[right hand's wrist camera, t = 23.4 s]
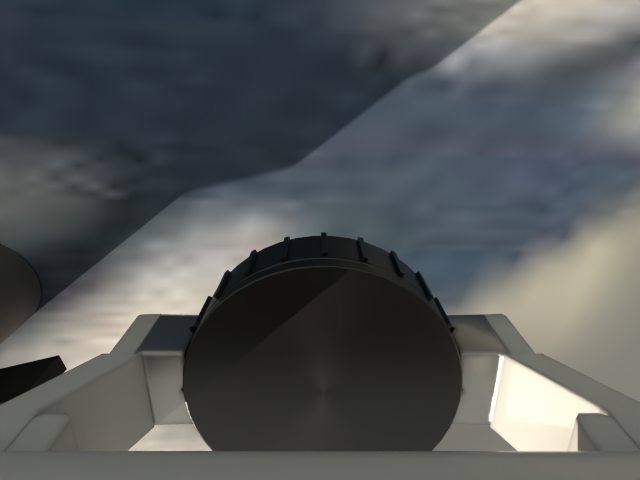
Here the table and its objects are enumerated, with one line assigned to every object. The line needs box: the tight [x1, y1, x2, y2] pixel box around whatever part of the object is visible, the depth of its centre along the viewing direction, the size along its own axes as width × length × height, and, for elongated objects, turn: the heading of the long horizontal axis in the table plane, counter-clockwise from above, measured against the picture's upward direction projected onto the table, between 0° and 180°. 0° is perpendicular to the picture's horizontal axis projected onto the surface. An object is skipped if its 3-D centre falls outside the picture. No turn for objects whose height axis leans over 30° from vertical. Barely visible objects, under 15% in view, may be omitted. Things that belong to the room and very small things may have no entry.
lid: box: [183, 233, 463, 451], centre depth 9 cm, size 6×6×2 cm
